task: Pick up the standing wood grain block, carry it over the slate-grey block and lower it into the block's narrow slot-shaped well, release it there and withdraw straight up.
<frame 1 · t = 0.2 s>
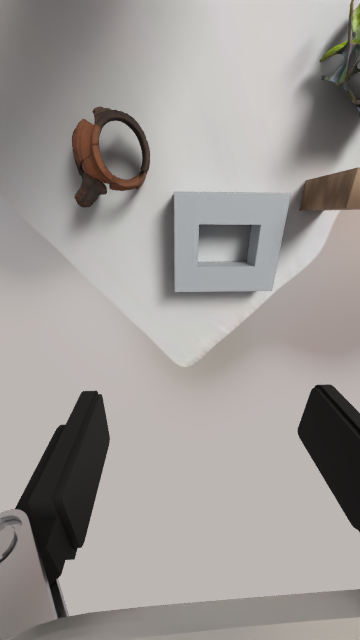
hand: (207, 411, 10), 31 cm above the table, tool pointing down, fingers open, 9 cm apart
well block: (222, 243, 36), on the table
wood grain block: (315, 195, 34), on the table
passion flower: (348, 82, 29), on the table
dark brown looped piece: (109, 168, 31), on the table
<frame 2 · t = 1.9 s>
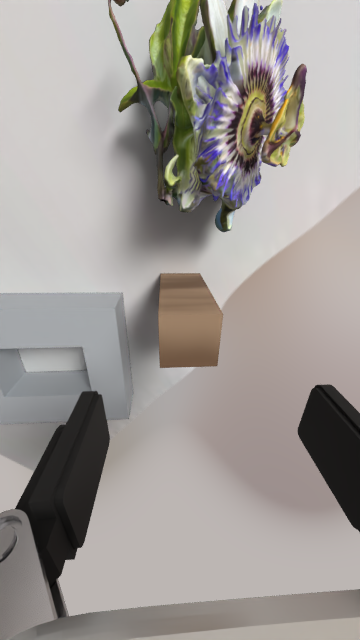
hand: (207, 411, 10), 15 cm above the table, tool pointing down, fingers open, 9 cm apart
well block: (58, 350, 26), on the table
wood grain block: (180, 292, 23), on the table
passion flower: (194, 138, 18), on the table
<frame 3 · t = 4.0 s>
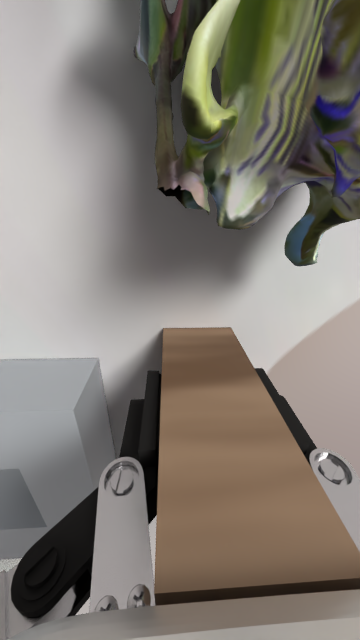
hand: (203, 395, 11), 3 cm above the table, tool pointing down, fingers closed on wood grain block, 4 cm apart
well block: (0, 440, 16), on the table
wood grain block: (195, 356, 14), on the table, touching gripper
passion flower: (235, 70, 9), on the table
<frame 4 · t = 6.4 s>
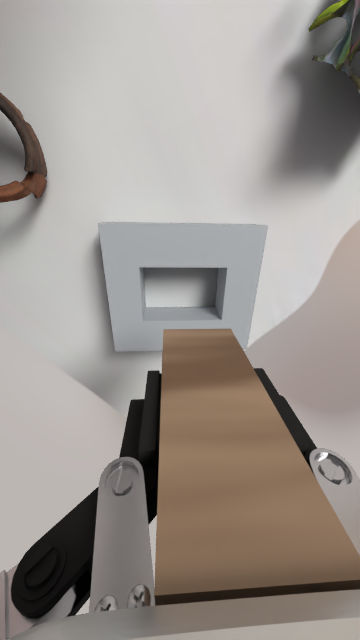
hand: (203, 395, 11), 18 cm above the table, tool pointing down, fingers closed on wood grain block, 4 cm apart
well block: (181, 284, 27), on the table
wood grain block: (195, 357, 14), point 15 cm above the table, touching gripper
passion flower: (351, 65, 20), on the table
when the fingers open (5 cm above the table, at t = 9.1 s): wood grain block drops 1 cm, resting in well block.
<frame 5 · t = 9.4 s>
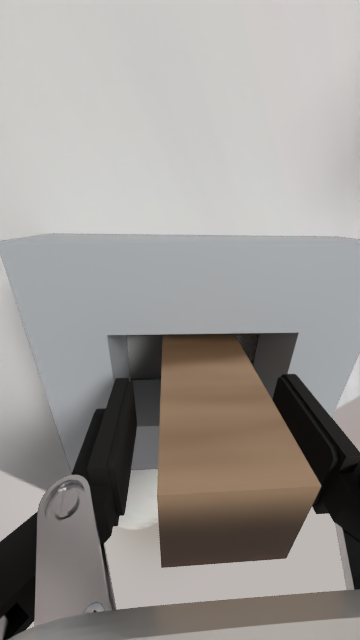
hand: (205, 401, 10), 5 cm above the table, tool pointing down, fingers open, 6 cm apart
well block: (193, 344, 15), on the table
wood grain block: (192, 343, 15), resting in well block
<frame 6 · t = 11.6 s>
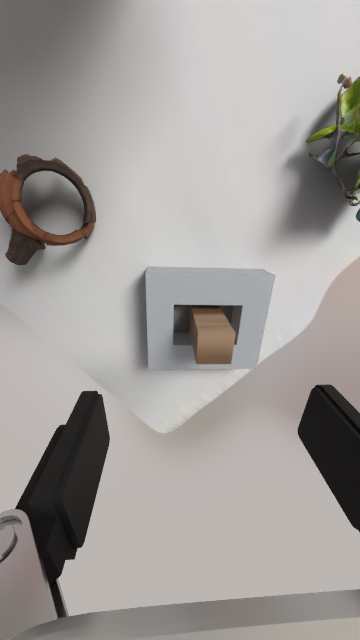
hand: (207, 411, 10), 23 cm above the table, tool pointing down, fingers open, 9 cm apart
well block: (202, 314, 33), on the table
wood grain block: (202, 314, 33), resting in well block
passion flower: (338, 159, 26), on the table
dark brown looped piece: (54, 216, 27), on the table
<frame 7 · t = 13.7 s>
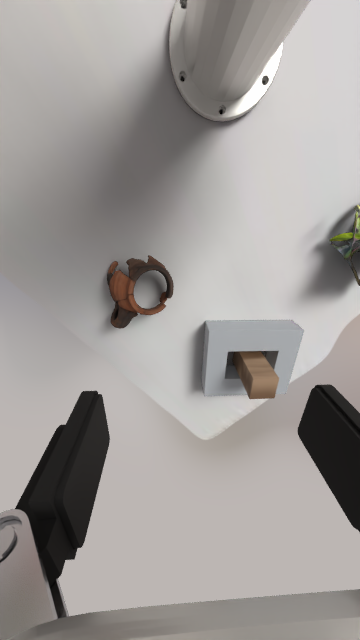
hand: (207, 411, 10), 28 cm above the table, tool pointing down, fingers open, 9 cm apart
well block: (243, 352, 43), on the table
wood grain block: (243, 352, 43), resting in well block
passion flower: (352, 244, 35), on the table
dark brown looped piece: (136, 286, 37), on the table
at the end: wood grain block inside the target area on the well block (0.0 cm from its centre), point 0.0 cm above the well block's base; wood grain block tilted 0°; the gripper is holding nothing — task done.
